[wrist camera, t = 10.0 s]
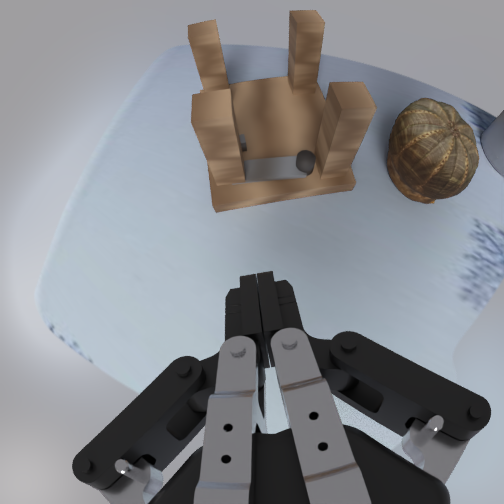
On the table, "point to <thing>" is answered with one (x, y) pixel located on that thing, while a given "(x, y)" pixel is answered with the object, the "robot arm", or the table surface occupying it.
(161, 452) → the robot arm
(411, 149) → the shell
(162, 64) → the table surface
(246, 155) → the wooden peg stand
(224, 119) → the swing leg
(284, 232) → the table surface
